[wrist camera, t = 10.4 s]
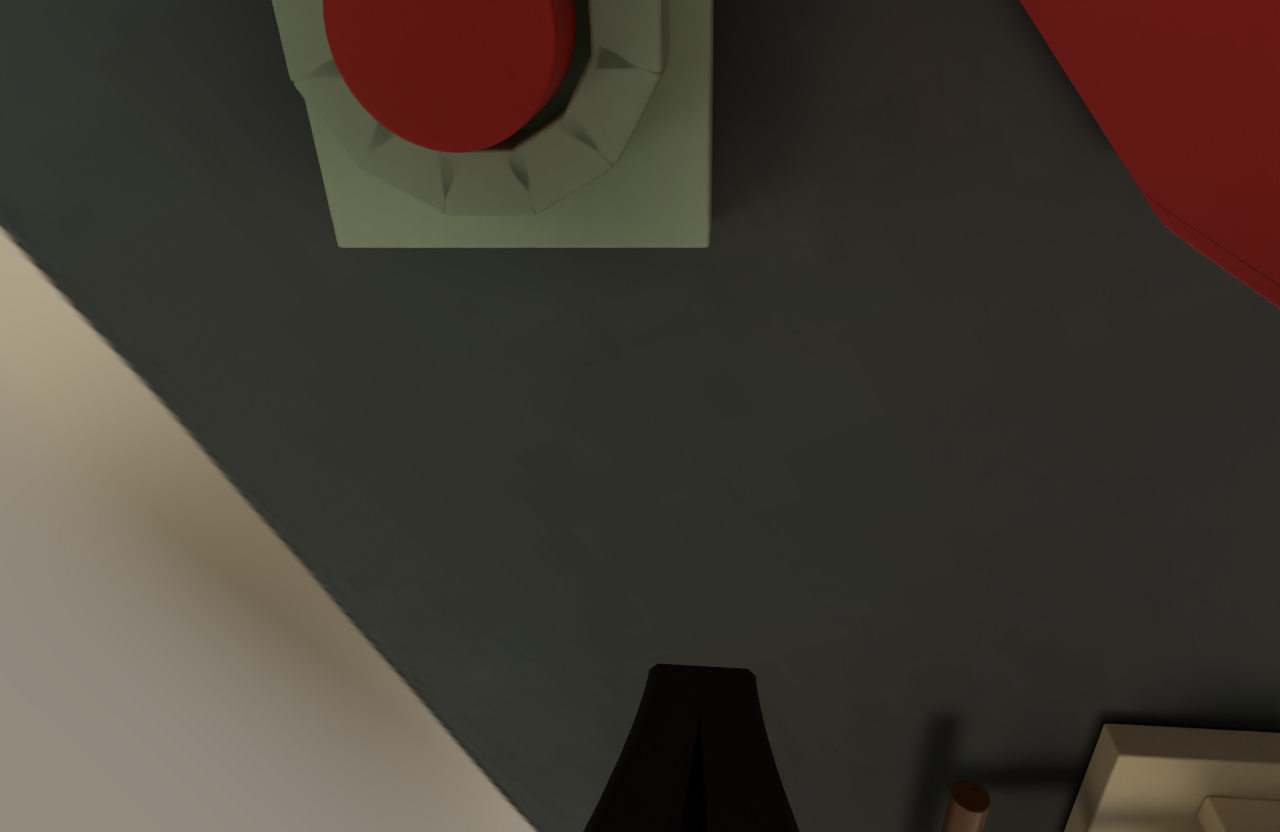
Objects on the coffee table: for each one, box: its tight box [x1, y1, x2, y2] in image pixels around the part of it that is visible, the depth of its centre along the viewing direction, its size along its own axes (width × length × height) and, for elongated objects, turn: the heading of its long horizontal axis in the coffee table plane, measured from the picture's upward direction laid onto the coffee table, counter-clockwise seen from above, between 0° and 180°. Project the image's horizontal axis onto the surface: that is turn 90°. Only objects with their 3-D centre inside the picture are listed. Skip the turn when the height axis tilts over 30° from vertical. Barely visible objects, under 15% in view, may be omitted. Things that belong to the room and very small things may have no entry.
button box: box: [272, 0, 714, 248], centre depth 15 cm, size 8×9×4 cm
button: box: [323, 0, 576, 153], centre depth 13 cm, size 4×4×2 cm
